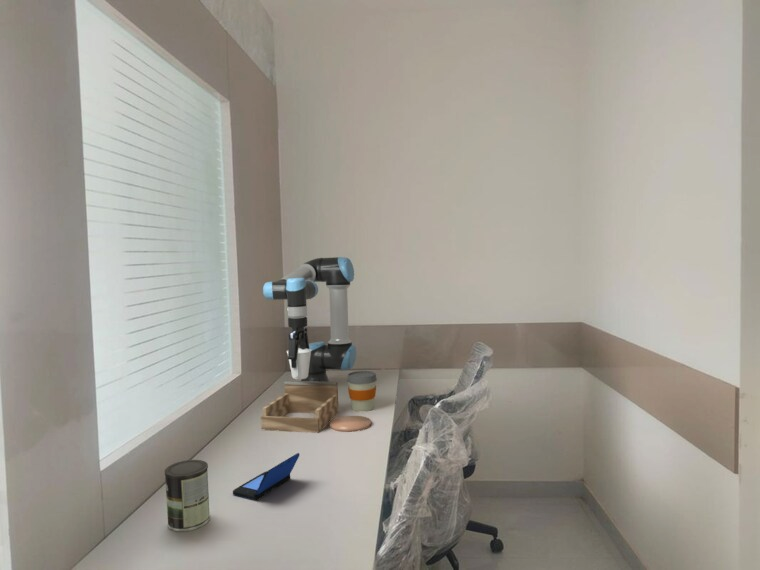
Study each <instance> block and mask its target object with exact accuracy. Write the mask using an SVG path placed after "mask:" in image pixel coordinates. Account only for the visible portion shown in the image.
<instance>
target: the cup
mask: <svg viewBox="0 0 760 570" xmlns="http://www.w3.org/2000/svg"><path fill="white" fill-rule="evenodd" d="M311 351H312V350H311V349H307V348H306V349H305V350H302V349H300V347H299V348H298V353H297V354H298V355H297V359H298V368H299V376H292V375H291V377H292V379H294V380H301V379H305V378H307V377H308V372H309V363H310V355H311ZM286 353H287V355H288V350H286ZM288 363H289V368H290V369H291V360H290V359H288Z"/></svg>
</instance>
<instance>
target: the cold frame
mask: <svg viewBox="0 0 760 570" xmlns="http://www.w3.org/2000/svg"><path fill="white" fill-rule="evenodd" d="M283 384H284V393H283V394H282V395H280V396H279V397H277V398H276V399H274V400H273V401H271V402H270V403H268V404H267V405H265V406H263V407H262V408H261V409H262V412H261V413H262V416H261V417H260V425H261V429H265V430H264V431H274V430H279V431H278V432H294V431H295V432H296V433H297V432H298V433H300V432H301V433H314V434H315V433H316V434H317V433H320V432H321V430H322V429H324V427H326V426H327V425H328V424H330V421H332V420H333V419H335V417H336V416H337V415H338V414H339V389H338V386H339V385H338V384H339V381H338V382H337V381H329V382H316V381H301V380H285V381H283ZM289 413H301V414H305V413H306V414H314V417H300V416H299V417H298V416H297V417H295V416H286V415H287V414H289ZM295 432H294V433H295Z"/></svg>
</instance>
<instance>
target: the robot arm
mask: <svg viewBox="0 0 760 570" xmlns="http://www.w3.org/2000/svg"><path fill="white" fill-rule="evenodd" d="M354 279H355V269H354V266H353V263H352V261H351V259H349V258H348V257H345V256H344V257H343V256H339V257H336V256H335V257H317V258H314V259H311V260H308V261H306V262H304V263H302V264H301V265H299V266H298V267H297V269H296V270H294V271H291V272H290V273H289V274H287V275H285V276H283V277H282V278H280V279H278V280H276V281H272V280H271V281H267V282H265V283H264V284H263V288H262V293H263V294H262V295H263V296H264V298H265V299H266V300H273V301H274V300H275V301H276V300H278V301H279V300H280V301H281V300H282V301H283V300H287V309H286V311H287V316H288V318H287V323H288V324H287V325H288V328H291V329H292V330H291V332H289V333H288V350H287V351H288V354H287V359H288V360H289V359H290V360H291V368H290V371H291V372H290V373H291V377H292V376H299V368H298V359H297V355H298V354H297V353H298V348H300V349H302V350H305V349H306V348H307V349H311V350H312V351H311V355H310V363H309V372H308V377H307V378H305V379H300V381H316V382H330V380H329V378H328V375H327V374H328V373H327V370H339V371H340V370H341V371H343V370H346V371H347V370H351V369H353V367H354V365H355V362H356V358H357V347H356V346H355V344H353V341H352V340H351V339H350V337H349V336H350V335H349V310H348V309H349V305H348V302H349V301H348V300H349V299H348V288H349V287H350V286H351V282H353V281H354ZM316 282H317V283H319V282H320V283H325V286H326V287H327V288H328V291H329V315H330V317H329V321H330V323H329V324H330V325H329V326H330V339H329V340H328V341H327V344H326V342H325V341H315V342H309V336H308V317H307V316H308V307H307V301H308V300H311V299H313V298H315V297H317V295H318V293H319V286H318V284H317V283H316Z"/></svg>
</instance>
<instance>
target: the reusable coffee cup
mask: <svg viewBox="0 0 760 570" xmlns="http://www.w3.org/2000/svg"><path fill="white" fill-rule="evenodd" d="M346 382H347V383H348V384H347V385H348V387H347V389H348V396H349V399H350V402H351V408H352V410H353V412H358V411H365V412H369V411H368V410H370V411H372V410H374V405H375V398H376V392H377V386H376V384H377V373H376V372H374V371H371V370H359V371H358V370H356V371H352V372H349V373H347V380H346Z"/></svg>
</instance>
